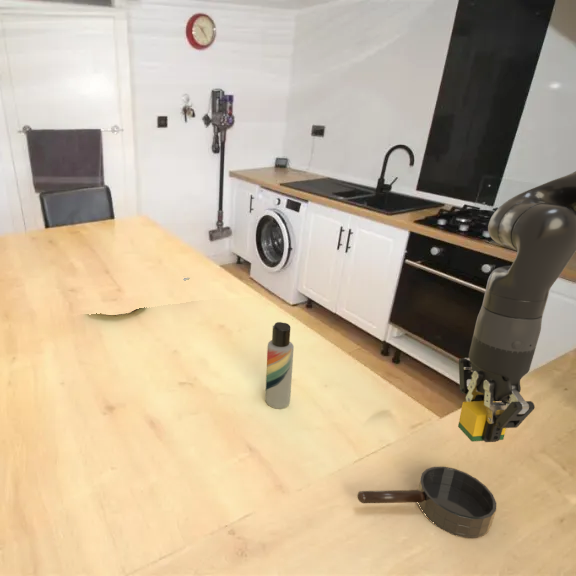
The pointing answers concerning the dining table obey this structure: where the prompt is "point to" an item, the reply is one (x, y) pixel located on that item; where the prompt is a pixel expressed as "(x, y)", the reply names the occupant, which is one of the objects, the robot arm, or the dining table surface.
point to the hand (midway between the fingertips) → (480, 430)
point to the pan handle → (391, 496)
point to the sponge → (475, 420)
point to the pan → (457, 502)
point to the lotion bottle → (279, 367)
